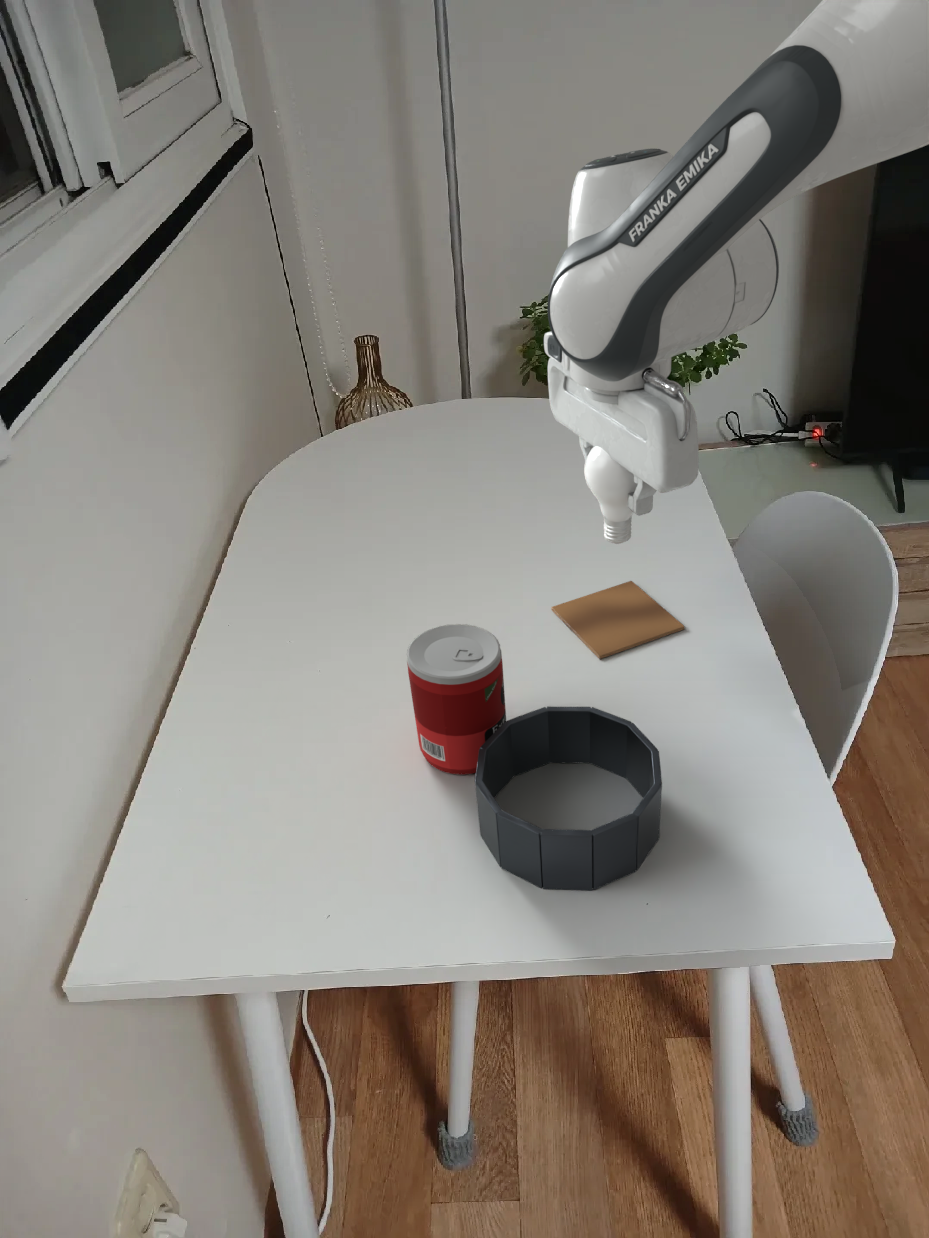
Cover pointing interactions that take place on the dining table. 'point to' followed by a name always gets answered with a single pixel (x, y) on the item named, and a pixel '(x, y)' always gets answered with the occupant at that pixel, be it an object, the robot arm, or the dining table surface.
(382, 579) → the dining table surface
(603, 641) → the coaster
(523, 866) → the dark grey polygonal container
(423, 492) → the dining table surface
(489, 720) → the canned food
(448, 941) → the dining table surface
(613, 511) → the lightbulb
